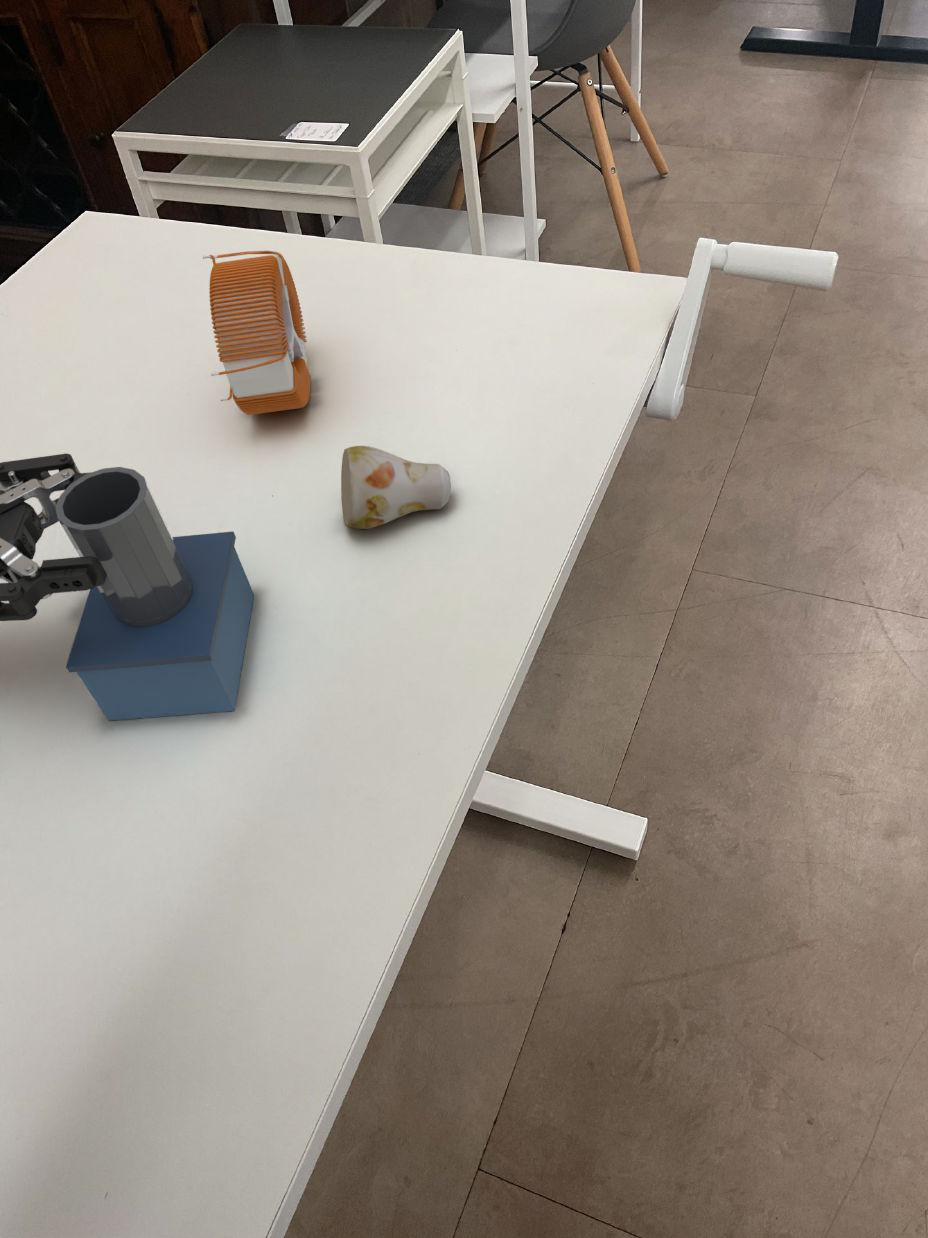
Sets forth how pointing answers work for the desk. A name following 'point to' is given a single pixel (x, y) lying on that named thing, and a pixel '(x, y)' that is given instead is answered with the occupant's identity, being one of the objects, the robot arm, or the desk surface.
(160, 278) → the desk surface
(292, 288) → the coil
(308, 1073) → the desk surface
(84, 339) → the desk surface
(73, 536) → the cup
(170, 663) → the container
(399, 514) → the patterned salt shaker
